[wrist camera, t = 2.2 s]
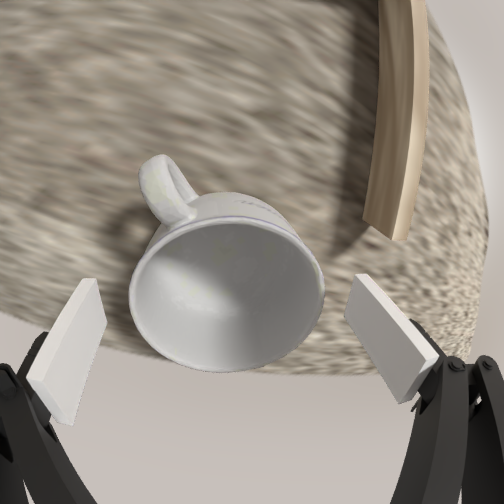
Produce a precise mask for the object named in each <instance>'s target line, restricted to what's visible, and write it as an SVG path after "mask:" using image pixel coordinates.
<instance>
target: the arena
mask: <svg viewBox="0 0 504 504" xmlns="http://www.w3.org/2000/svg"><path fill="white" fill-rule="evenodd" d="M378 10H379V83H378V100H377V114H376V125H375V135H374V144H373V153H372V161H371V168H370V175H369V182H368V188H367V194H366V200H365V206H364V212H363V217H362V219H363V220H364V221H365V222H367V223H368V224H370V225H371V226H373V227H374V228H375V229H377V230H378V231H380V232H381V233H382V234H384V235H385V236H386V237H388V238H389V239H390V240H407V236H408V232H409V228H410V224H411V220H412V215H413V211H414V206H415V201H416V196H417V191H418V185H419V180H420V174H421V168H422V161H423V154H424V146H425V137H426V128H427V116H428V100H429V39H428V25H427V14H426V5H425V0H378Z"/></svg>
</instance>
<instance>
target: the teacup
mask: <svg viewBox="0 0 504 504" xmlns="http://www.w3.org/2000/svg"><path fill="white" fill-rule="evenodd" d="M138 178H139V186H140V189H141V192H142V194H143V197H144V199H145V201H146V202H147V204H148V206H149V208H150V209H151V211H152V212H153V214H154V215H155V216H156V218H157V219H158V220H160V221H161V222H162V223H161V224H160V226H159V227H158V229H157V230H156V232H155V233H154V235H153V237H152V239H151V240H150V242H149V244H148V246H147V248H146V251H145V253H144V255H143V256H142V257H141V259H140V260H139V262H138V263H137V265H136V267H135V269H134V271H133V273H132V277H131V281H130V285H129V307H130V312H131V315H132V318H133V320H134V323H135V325H136V327H137V329H138V331H139V332H140V334H141V335H142V337H143V338H144V339H145V340H146V341H147V342H148V343H149V345H150V346H151V347H152V348H153V349H155V350H156V351H157V352H159V353H160V354H162V355H163V356H164V357H166V358H168V359H170V360H172V361H173V362H175V363H178V364H180V365H182V366H185V367H188V368H191V369H195V370H201V371H205V372H216V373H229V372H239V371H246V370H250V369H256V368H260V367H264V366H265V365H267V364H269V363H272V362H274V361H276V360H278V359H280V358H282V357H284V356H286V355H287V354H288V353H290V352H291V351H293V350H294V349H296V348H297V347H298V346H299V345H300V344H301V343H302V342H303V341H304V340H305V339H306V338H307V337H308V335H309V334H310V333H311V331H312V330H313V328H314V327H315V325H316V323H317V321H318V319H319V317H320V315H321V312H322V308H323V304H324V297H325V286H324V278H323V274H322V270H321V268H320V266H319V264H318V262H317V260H316V258H315V257H314V255H313V253H312V252H311V251H310V250H309V249H308V247H307V246H306V245H305V244H304V243H303V242H302V241H301V239H300V238H299V236H298V235H297V233H296V232H295V230H294V229H293V228H292V227H291V225H290V224H289V223H288V222H287V221H286V219H285V218H284V217H283V216H282V215H281V214H280V213H279V212H277V211H276V210H275V209H274V208H272V207H271V206H270V205H268V204H266V203H265V202H263V201H261V200H259V199H257V198H254V197H251V196H248V195H245V194H240V193H235V192H217V193H210V194H205V195H202V196H198V195H197V194H196V192H195V191H194V190H193V189H192V188H191V186H190V185H189V183H188V182H187V180H186V179H185V177H184V176H183V174H182V173H181V171H180V170H179V168H178V167H177V166H176V164H175V163H174V161H173V160H172V159H170V158H169V157H168V156H166V155H163V154H161V155H157V156H154V157H152V158H151V159H149V160H148V161H146V162H145V163H143V164H142V166H141V168H140V169H139V173H138Z"/></svg>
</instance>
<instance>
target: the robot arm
mask: <svg viewBox="0 0 504 504" xmlns="http://www.w3.org/2000/svg"><path fill="white" fill-rule="evenodd" d="M344 317H345V319H346V321H347V322H348V324H349V325H350V327H351V328H352V330H353V331H354V333H355V334H356V336H357V338H358V339H359V341H360V342H361V344H362V345H363V347H364V349H365V350H366V352H367V353H368V355H369V356H370V358H371V360H372V361H373V363H374V365H375V366H376V368H377V369H378V371H379V373H380V374H381V376H382V377H383V379H384V381H385V382H386V384H387V386H388V387H389V389H390V390H391V392H392V394H393V396H394V397H395V399H396V401H397V402H398V404H401V403H404V402H407V401H410V400H412V398H413V397H414V396H415V394H416V393H417V391H418V392H419V394H420V395H421V396H420V398H419V399H418V400H417V402H416V403H415V405H414V406H413V407H412V409H411V412H413V411H414V409H415V408H416V407H417V409H416V414H415V419H414V424H413V428H412V433H411V437H410V441H409V445H408V449H407V453H406V457H405V460H404V464H403V467H402V470H401V474H400V477H399V480H398V483H397V486H396V489H395V491H394V494H393V497H392V500H391V502H390V504H458V500H459V495H460V490H461V489H462V504H504V380H503V378H502V375H501V373H500V370H499V368H498V365H497V363H496V362H495V361H494V360H493V358H491V357H489V356H485V355H482V356H480V357H479V358H478V359H477V361H476V362H475V364H465V363H464V361H462V360H461V359H460V358H457V357H455V356H448V357H447V356H446V355H445V353H444V352H443V351H442V350H441V349H440V347H439V346H438V345H437V344H436V343H435V342H434V340H433V339H432V338H430V336H429V335H428V334H427V332H425V330H424V329H423V328H422V327H421V326H420V324H418V323H417V322H415V321H414V320H412V319H408V318H407V317H406V316H405V315H404V314H403V313H402V311H401V310H400V309H399V308H398V307H397V306H396V305H395V304H394V302H393V301H392V300H391V299H390V298H389V297H388V296H387V295H386V294H385V293H384V292H383V290H382V289H381V288H380V287H379V286H378V285H377V284H376V283H375V282H374V281H373V280H372V279H371V278H370V277H369V276H368V275H367V274H355V275H354V279H353V283H352V287H351V291H350V295H349V299H348V302H347V306H346V310H345V313H344ZM106 325H107V320H106V316H105V313H104V309H103V305H102V301H101V297H100V293H99V289H98V284H97V280H96V278H83V279H82V281H81V282H80V284H79V285H78V287H77V288H76V290H75V291H74V293H73V294H72V296H71V297H70V299H69V300H68V302H67V304H66V305H65V307H64V308H63V310H62V312H61V313H60V315H59V317H58V318H57V320H56V322H55V323H54V325H53V327H52V329H51V330H50V332H43V333H42V334H40V335H39V336H38V337H37V338H36V339H35V341H34V343H33V344H32V346H31V349H30V350H29V352H28V353H27V354H28V355H27V356H26V357H25V359H24V361H23V363H22V365H21V367H20V369H19V370H18V373H17V374H15V373H14V371H13V370H12V368H11V366H9V365H8V364H4V363H1V364H0V504H29V502H28V499H27V495H26V491H25V487H24V482H25V485H26V487H27V489H28V491H29V493H30V495H31V497H32V499H33V501H34V503H35V504H97V503H96V501H95V500H94V498H93V497H92V496H91V494H90V493H89V491H88V490H87V488H86V487H85V485H84V484H83V482H82V480H81V479H80V477H79V476H78V474H77V472H76V471H75V469H74V467H73V465H72V464H71V462H70V460H69V458H68V456H67V455H66V453H65V451H64V449H63V447H62V445H61V443H60V442H59V439H58V437H57V435H56V433H55V431H54V429H53V427H52V425H51V424H50V422H49V420H50V417H51V415H52V416H53V418H54V419H55V420H56V421H57V422H58V423H61V424H65V425H70V426H73V425H74V421H75V417H76V414H77V410H78V407H79V403H80V400H81V397H82V393H83V390H84V387H85V383H86V381H87V378H88V374H89V372H90V368H91V366H92V363H93V360H94V357H95V354H96V351H97V349H98V346H99V343H100V341H101V338H102V335H103V333H104V330H105V328H106ZM479 396H481V399H482V401H481V402H480V403H479V404H478V403H477V399H478V398H479ZM23 480H24V482H23Z"/></svg>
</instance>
